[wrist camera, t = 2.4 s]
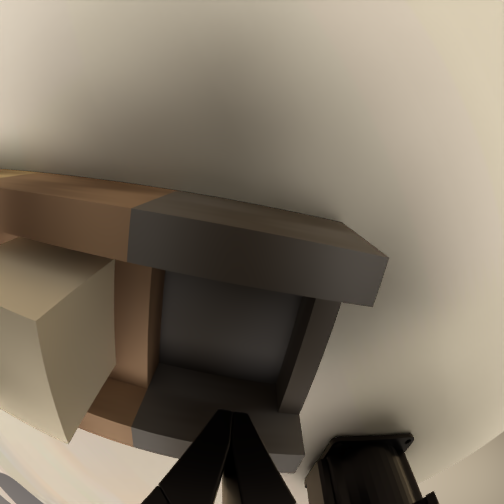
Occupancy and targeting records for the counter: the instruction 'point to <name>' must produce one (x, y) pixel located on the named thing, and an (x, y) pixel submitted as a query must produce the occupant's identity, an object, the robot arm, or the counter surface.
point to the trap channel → (201, 303)
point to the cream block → (54, 333)
